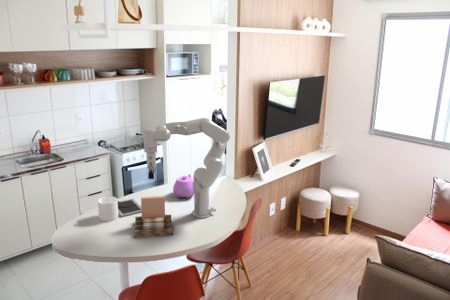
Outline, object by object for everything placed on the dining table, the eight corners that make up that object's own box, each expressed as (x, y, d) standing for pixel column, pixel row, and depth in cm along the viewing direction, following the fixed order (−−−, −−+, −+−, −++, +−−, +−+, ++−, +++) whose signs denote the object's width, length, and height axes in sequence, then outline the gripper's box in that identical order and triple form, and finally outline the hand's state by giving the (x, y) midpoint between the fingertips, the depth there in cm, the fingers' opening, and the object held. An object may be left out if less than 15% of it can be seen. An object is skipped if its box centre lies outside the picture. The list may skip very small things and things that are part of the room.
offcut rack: (171, 220, 248) (171, 214, 247) (172, 235, 230) (172, 228, 229) (135, 222, 244) (135, 216, 243) (134, 237, 227) (134, 231, 225)
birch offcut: (163, 226, 240) (163, 217, 239) (163, 229, 237) (163, 220, 235) (143, 227, 238) (143, 218, 236) (143, 230, 234) (143, 221, 233)
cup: (118, 212, 256) (117, 195, 253) (118, 220, 245) (117, 203, 242) (99, 213, 254) (98, 196, 250) (98, 222, 243) (97, 204, 239)
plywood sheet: (165, 222, 245) (164, 195, 240) (165, 224, 243) (164, 197, 238) (142, 223, 243) (141, 196, 237) (142, 225, 240) (141, 198, 235)
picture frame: (110, 206, 266) (121, 218, 250) (110, 202, 265) (121, 214, 249) (133, 201, 274) (144, 212, 258) (132, 197, 274) (144, 208, 257)
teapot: (204, 190, 293) (204, 172, 289) (196, 201, 275) (196, 182, 270) (179, 187, 298) (179, 169, 293) (170, 198, 279) (169, 178, 274)
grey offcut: (164, 231, 235) (163, 222, 233) (164, 234, 231) (163, 225, 229) (143, 232, 233) (143, 223, 231) (143, 235, 229) (142, 226, 227)
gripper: (156, 153, 225) (157, 181, 230) (157, 144, 241) (157, 170, 246) (143, 153, 223) (144, 181, 229) (144, 144, 240) (145, 171, 245)
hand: (151, 175), depth 237 cm, fingers open, 9 cm apart
